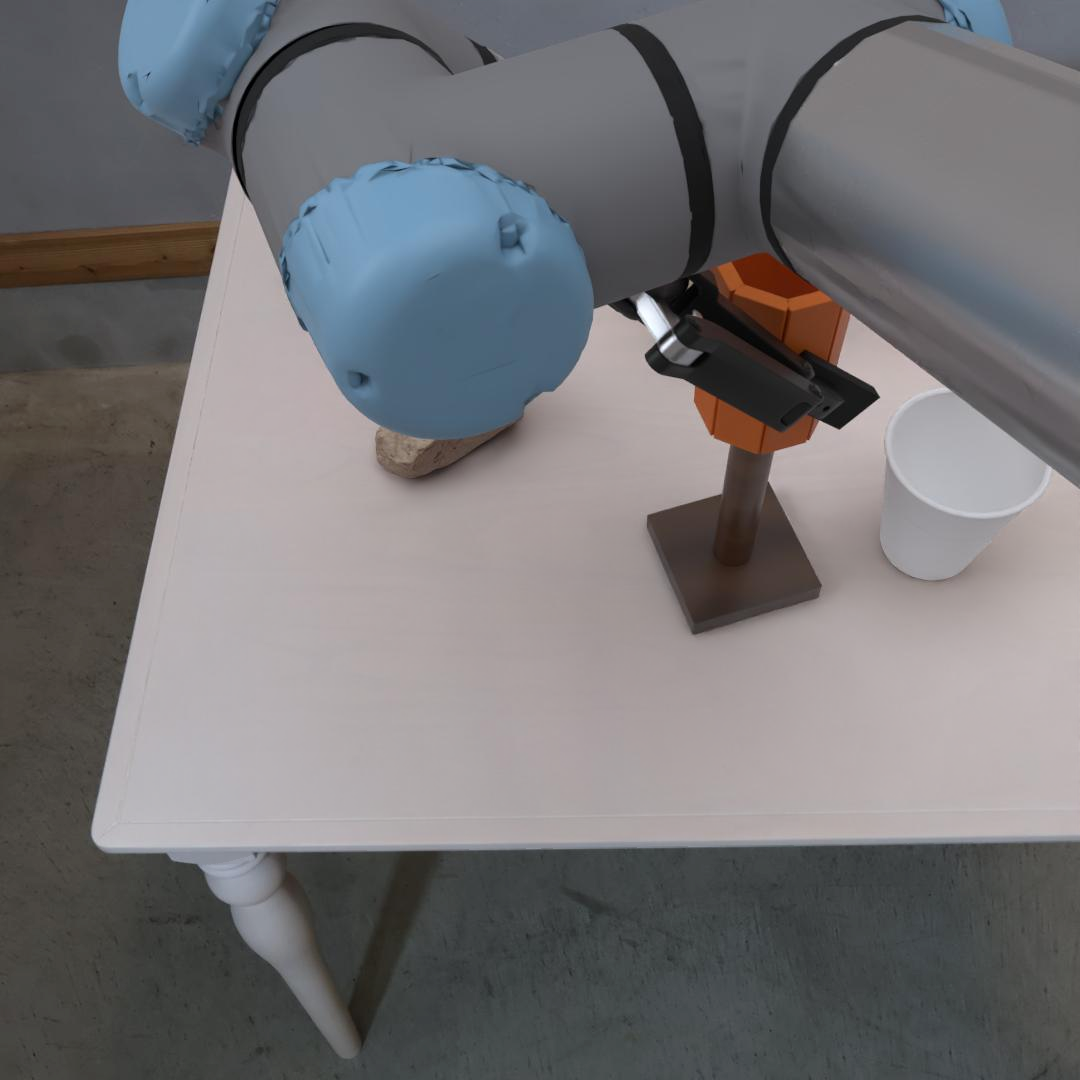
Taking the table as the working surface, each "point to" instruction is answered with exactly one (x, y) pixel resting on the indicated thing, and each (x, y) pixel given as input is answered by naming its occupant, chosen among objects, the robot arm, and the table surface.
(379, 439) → the stone
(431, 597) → the table surface
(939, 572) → the cup
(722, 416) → the orange octagonal sleeve
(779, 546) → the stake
